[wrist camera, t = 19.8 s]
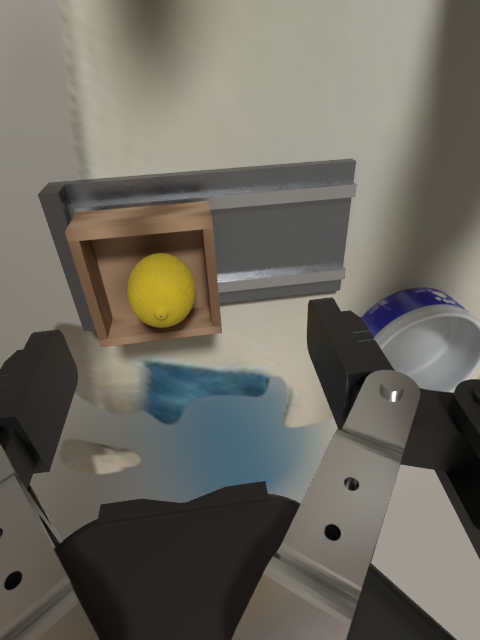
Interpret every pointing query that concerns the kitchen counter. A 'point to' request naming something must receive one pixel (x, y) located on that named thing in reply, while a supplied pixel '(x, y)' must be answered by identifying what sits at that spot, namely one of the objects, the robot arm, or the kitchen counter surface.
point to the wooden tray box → (131, 247)
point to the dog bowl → (427, 337)
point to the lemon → (161, 290)
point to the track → (233, 223)
